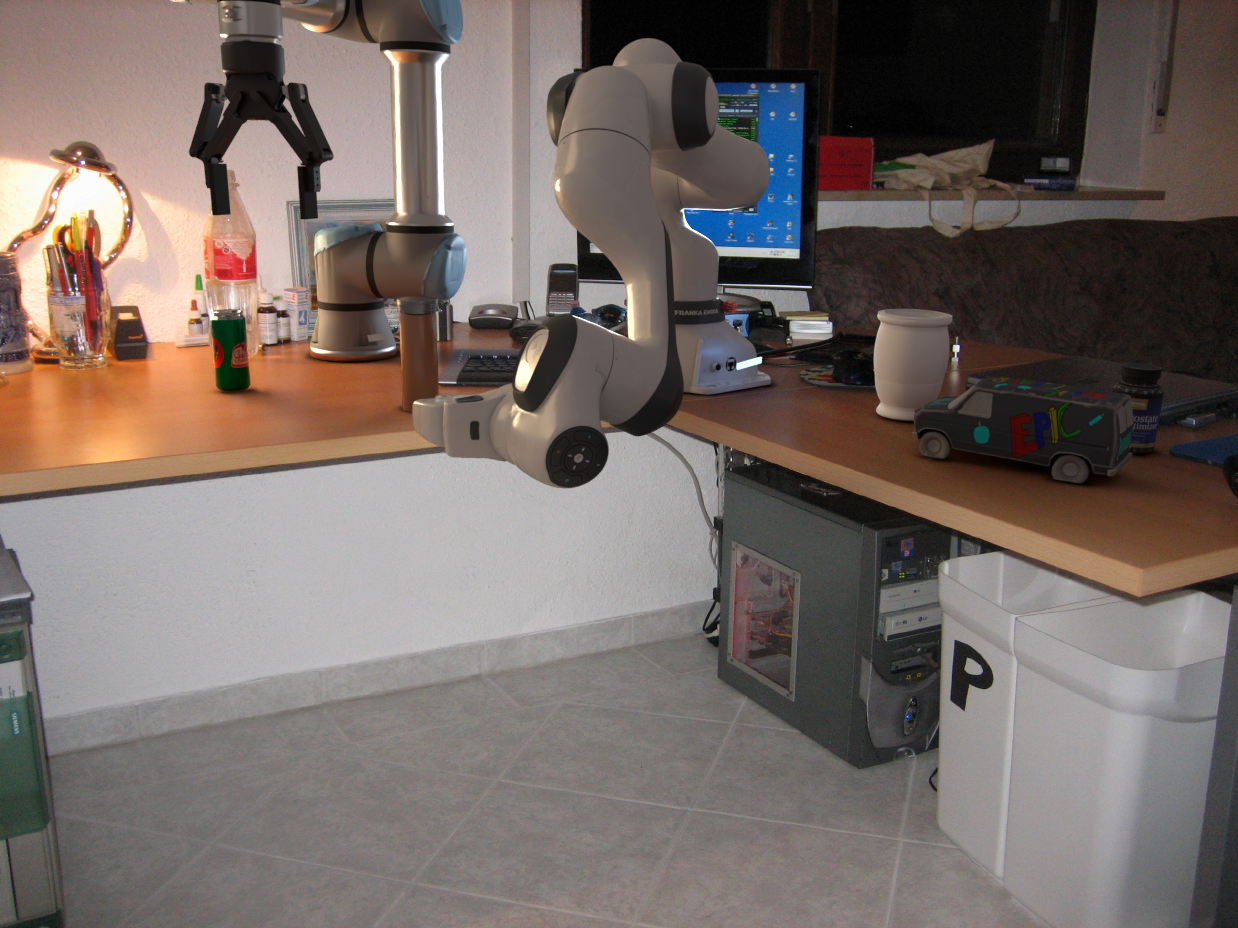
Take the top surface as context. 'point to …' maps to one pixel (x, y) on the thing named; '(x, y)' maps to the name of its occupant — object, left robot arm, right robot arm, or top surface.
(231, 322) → the soda can
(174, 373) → the top surface
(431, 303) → the lid
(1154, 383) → the pill bottle
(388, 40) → the left robot arm
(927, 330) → the jar
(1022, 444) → the toy van
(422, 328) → the screw-top jar
